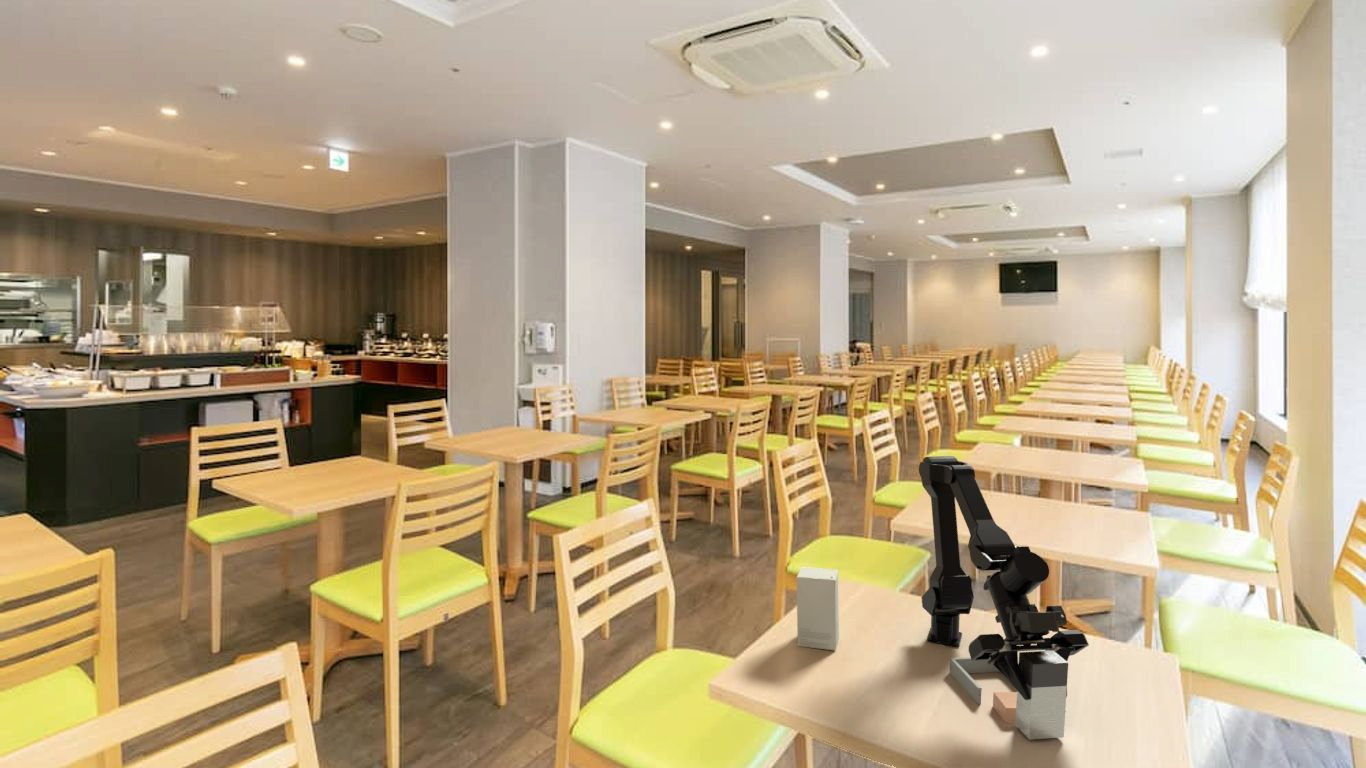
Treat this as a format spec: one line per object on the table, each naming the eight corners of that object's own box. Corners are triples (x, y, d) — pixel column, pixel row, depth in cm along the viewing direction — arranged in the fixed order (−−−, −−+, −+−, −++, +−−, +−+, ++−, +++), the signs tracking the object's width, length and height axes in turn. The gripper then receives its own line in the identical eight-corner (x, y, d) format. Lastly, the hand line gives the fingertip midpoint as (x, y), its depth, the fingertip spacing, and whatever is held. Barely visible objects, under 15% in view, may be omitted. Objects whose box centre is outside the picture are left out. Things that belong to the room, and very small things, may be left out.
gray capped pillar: (1015, 724, 118) (1019, 652, 117) (1048, 722, 119) (1053, 650, 117) (1029, 739, 115) (1033, 664, 113) (1063, 737, 115) (1068, 662, 114)
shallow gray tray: (949, 672, 137) (950, 658, 136) (1004, 669, 138) (1004, 655, 137) (977, 703, 126) (978, 688, 126) (1036, 700, 127) (1037, 684, 127)
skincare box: (839, 638, 151) (840, 569, 149) (835, 652, 145) (836, 580, 143) (800, 633, 154) (801, 564, 152) (795, 646, 148) (796, 575, 146)
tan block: (992, 707, 125) (993, 692, 125) (1031, 707, 125) (1032, 692, 125) (1005, 724, 120) (1006, 708, 120) (1046, 724, 120) (1047, 708, 120)
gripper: (979, 589, 117) (1013, 687, 107) (1085, 585, 119) (1127, 681, 109) (955, 613, 126) (984, 706, 116) (1054, 609, 127) (1090, 700, 118)
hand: (1046, 698), depth 115 cm, fingers closed on gray capped pillar, 6 cm apart
